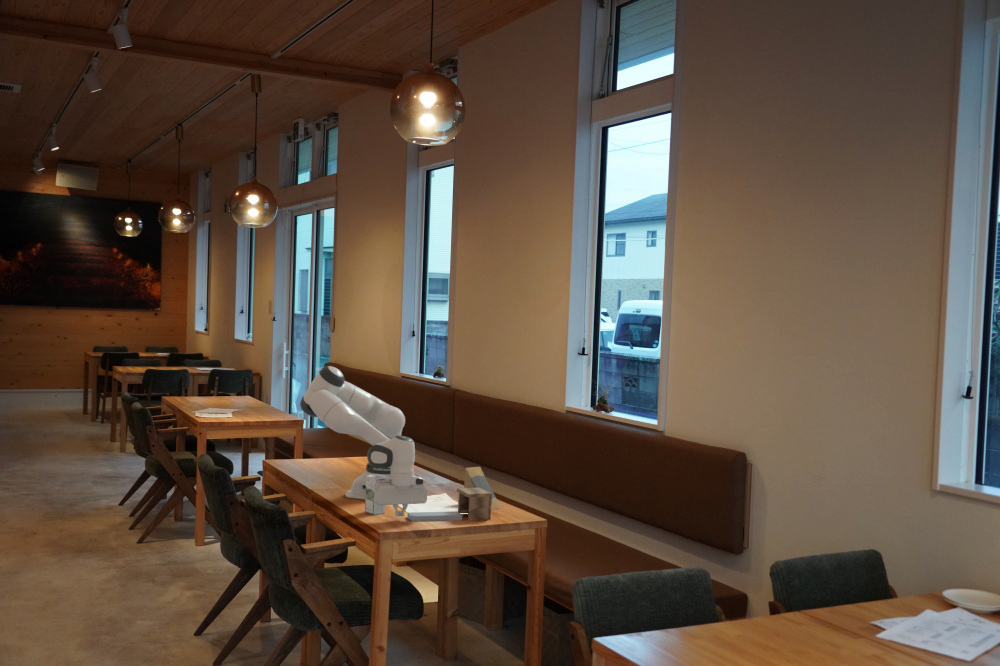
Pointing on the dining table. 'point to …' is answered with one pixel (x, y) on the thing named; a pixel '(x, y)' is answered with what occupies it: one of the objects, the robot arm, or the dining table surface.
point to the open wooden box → (475, 503)
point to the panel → (434, 516)
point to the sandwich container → (479, 483)
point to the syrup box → (370, 492)
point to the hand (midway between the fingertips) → (399, 515)
